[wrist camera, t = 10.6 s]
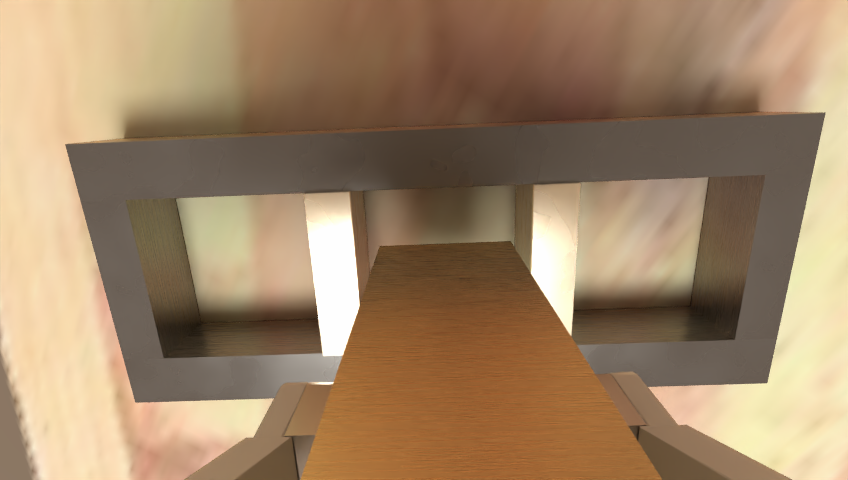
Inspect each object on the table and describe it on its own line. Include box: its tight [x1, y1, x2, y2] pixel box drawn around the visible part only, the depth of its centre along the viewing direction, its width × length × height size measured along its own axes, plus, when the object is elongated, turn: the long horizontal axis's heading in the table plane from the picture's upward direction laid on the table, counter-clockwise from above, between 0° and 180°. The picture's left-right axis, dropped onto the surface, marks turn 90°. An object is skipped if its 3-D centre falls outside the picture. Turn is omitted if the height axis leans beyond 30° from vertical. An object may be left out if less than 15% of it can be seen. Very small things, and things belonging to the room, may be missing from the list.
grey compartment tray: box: [65, 112, 825, 402], centre depth 18 cm, size 10×26×3 cm, turn 92°
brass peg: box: [301, 241, 662, 480], centre depth 9 cm, size 4×4×10 cm
